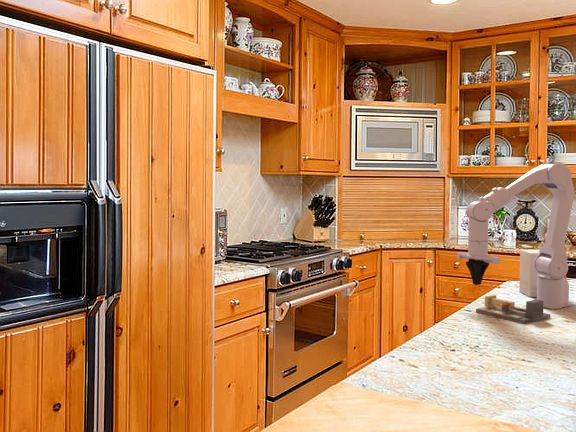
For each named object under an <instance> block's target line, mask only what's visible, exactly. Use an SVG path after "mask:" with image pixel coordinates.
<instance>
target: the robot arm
mask: <svg viewBox="0 0 576 432" xmlns="http://www.w3.org/2000/svg"><path fill="white" fill-rule="evenodd" d="M572 174H573V172H572V170H571V169H570V168H569V167H568V166H567V165H566V164H565V163H562V162H557V163H542V164H540V165H539V164H538V166H536V167H533V168H531V169H530V170H529V171H528V172H526V173H525V174H523V175H522V176H521V177H519V178H518V179H516V180H514V182H513V181H512V183H511V184H509V185H507V186H506V187H502V186H499V187H493V188H492V189H491V191H490V192H489V193H488V194H486V195H484V196H480V197H479V198H478V201H472V202H471V203H469V204H468V206H467V207H466V209H465V214H466V217H467V218H468V234H467V235H468V238H467V239H468V241H467V242H468V243H467V252H464V251H459V252H458V251H457V252H456V259H458V260H459V259H460V260H461V259H462V260H468V261H465V265H466V267H467V269H468V271H469V273H470V276H471V280H472V284H473V285H475V286H479V285H482V282H483V278H484V275H485V272H486V271H487V269H488V267H489V266H490V264H492V265H500V264H501V257H498V256H494V255H489V254H488V249H489V220H491V218H492V215H493V214H494V213H495V212H498V211H499V210H501V209H503V208H504V207H505V206H507V205H509V204H511V201H512V199H513V197H514V196H516V195H517V194H519V193H521V192H523V191H525V190H526V189H529V187H531V186H533V185H535V184H538V185H539V184H541V185H542V186H544V187H545V188H547V189H548V190H549V191H550V193H552V195H553V200H552V205H551V211H550V215H549V220H548V224H547V225H548V226H547V230H546V235H545V240H544V244H543V245H542V247H541V248H539V249H538V250H539V254H538V256H537V257H536V259H535V261H534V268H535V269H536V271H537V272H538V281H537V297H536V300H542V301H544V304H543V308H547V309H552V310H556V309H561V308H566V307H570V306H572V303H570V299H569V297H570V284H569V281H568V279H567V278H565V276H566V275H567V273H568V271H569V265H568V254H567V252H566V250H565V243H566V237H567V233H568V228H569V222H570V218H571V213H572V207H573V202H574V198H575V187H574V183H573V179H572V176H573V175H572Z"/></svg>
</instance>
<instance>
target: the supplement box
mask: <svg viewBox="0 0 576 432" xmlns="http://www.w3.org/2000/svg"><path fill="white" fill-rule="evenodd" d="M539 250H540V249H520V252H519V291H518V292H519V293H521V294H523V295H525V296H527V297H528V298H537V281H538V272H537V271H536V269H535V268H534V261H535V259H536V257H537V256H538V254H539Z"/></svg>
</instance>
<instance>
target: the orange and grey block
mask: <svg viewBox="0 0 576 432" xmlns="http://www.w3.org/2000/svg"><path fill="white" fill-rule="evenodd" d="M507 301H508V300H507ZM507 301H504V302H502V312H509V305H507Z"/></svg>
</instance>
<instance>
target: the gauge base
mask: <svg viewBox="0 0 576 432" xmlns="http://www.w3.org/2000/svg"><path fill="white" fill-rule="evenodd" d="M525 303H526V304H525V308H523V307H517V306H514V308H513V309H509V312H502V308H500V306H495V305H494V306H489V307H486V306H484V307H479V308H478V307H477V308H476V309H475V313H478V314H482V315H485V316H490V317H495V318H499V319H502V320H507V321H511V322H515V323H519V324H523V325H526V324H531V323H535V322H539V321H543V320H547V319H551V314H550V313H546V312H544V307H543V304H544V301H542V300H537V299H532V300H528V301H526V302H525Z"/></svg>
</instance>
